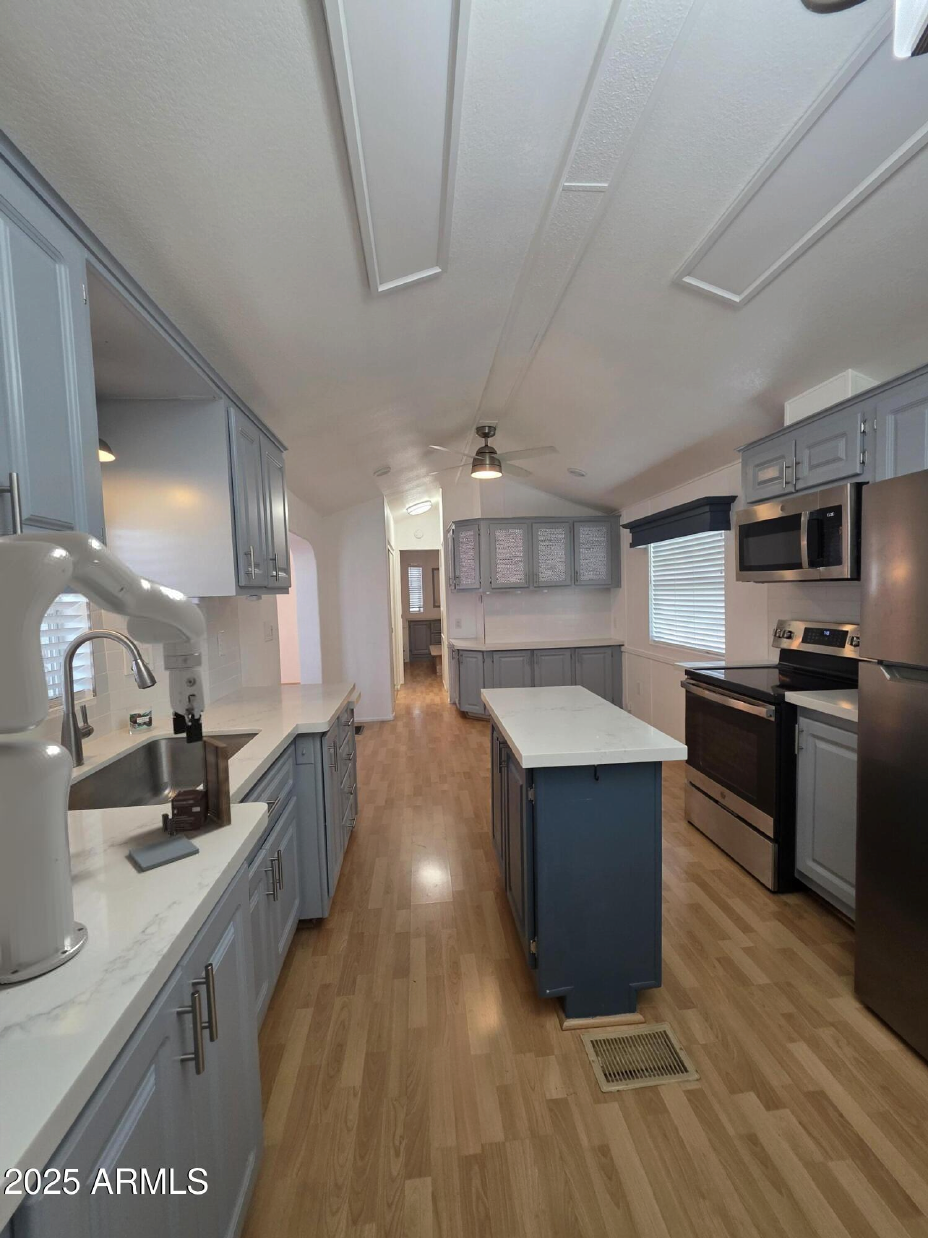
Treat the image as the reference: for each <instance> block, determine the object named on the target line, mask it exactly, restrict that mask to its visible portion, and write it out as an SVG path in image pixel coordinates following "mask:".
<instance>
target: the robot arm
mask: <svg viewBox="0 0 928 1238" xmlns="http://www.w3.org/2000/svg"><path fill="white" fill-rule="evenodd" d="M68 586H69V587H70V588H72V589H73V590H75V591H76V592H77V593H78V594H80V595H82V596H83V597H84V598H85V599H87V600H88V601H90V602H91V603H93V604H94V605H95V606H96V607H98V608H99V609H101V610H103V611H105V612H106V613H110V614H115V615H118V616H123V617H128V619H127V622H126V630H127V634H128V635H129V637H130V638H131V639H133V641H135V642H138V643H140V644H145V645H147V644H148V645H153V644H154V645H155V644H157V645H160V644H161V645H162V654H163V668H164V671H166V672H168V690H169V691H168V693H169V695H168V696H169V704H170V708H171V710H172V713H171V715H172V728H173V729H172V731H173V734H174V735H176V736H177V735H182V734H185V739H186V743H187V744H194V743H197V742H201V741H202V740H203V737H204V736H203V719H202V713H203V712H205V711H206V702H205V692H204V685H203V683H204V682H203V677H202V673H201V668H202V667H203V658H202V645H201V642H202V641H201V638H202V637H203V635H204V633H205V631H206V630H205V629H206V621H205V617H204V614H203V613H202V611H201V609H200V608H199V607H198V606H197V604H196V603H194V602H193V600H192V599H190V598H189V597H188V596H187V595H186V594H184V593H183V592H181V591H179V590H177V589H174V588H172V587H170V586H169V585H168V586H167V585H165V584H163V583H161V582H158V581H155V580H153V579H150V578H147V577H144V576H142V575H139V574H137V573H135V572H134V571H133V570H132V569H131V568H130V567H129V566H127V565H126V564H125V563H124V562H123V560H121V559H120V558H118V557H117V555H115V553H113V551H111V550H110V549H109V548H108V547H107V546H106V545H105V544H103V542H101V541H100V540H99V539H98V538H96V537H95V536H93V535H91V534H89V533H87V532H83V531H75V530H74V531H73V530H71V531H70V530H69V531H67V530H64V531H61V530H60V531H31V532H21V533H15V534H10V535H9V534H8V535H4V536H3V535H2V536H0V735H10V734H20V733H25V732H28V731H31V730H34V729H36V728H38V727H40V726H41V725H42V724H43V723H44V722H45V720H46V719H47V718H48V714H49V711H50V697H49V687H48V683H47V681H48V680H47V676H46V671H45V670H46V669H45V663H44V658H43V650H42V641H41V630H42V629H41V628H42V624H43V621H44V618H45V615H46V614H47V612H48V611H49V609H50V607H51V606H52V604H54V602H55V600H56V599H58V597H59V596H60V595H61V594H62V593H63V592H64V591H65V589H66V588H67V587H68ZM73 761H74V760H73V758H72V755H71V753H70V752H69V750H68V749H67V748H66V747H65V746H64V745H62V744H60V743H58V742H56V741H53V740H49V739H42V738H5V739H4V738H3V739H0V983H1V984H0V985H2V984H4V983H6V984H10V983H17V982H21V981H25V980H29V979H30V978H31V979H32V978H35V977H37V976H40V975H42V974H45V973H47V972H49V971H52V970H53V969H55V968H57V967H59V966H61V965H62V964H64V963H66V962H67V961H69V960H70V959H72V958H73V957H75V956H76V954H78V953H79V952H80V951H81V950H82V949H83V948H84V946H85V945H86V943H87V941H88V938H89V937H88V936H89V935H88V927H87V925H85V924H83V923H82V922H79V921H75V915H74V914H75V912H74V896H73V884H72V883H73V882H72V881H73V880H72V868H71V864H72V863H71V852H70V850H71V849H70V838H69V837H70V836H69V818H68V817H69V815H68V813H69V811H68V810H69V797H70V790H71V786H72V785H71V784H72V778H73V773H74V772H73V771H74V762H73Z"/></svg>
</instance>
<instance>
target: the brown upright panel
mask: <svg viewBox="0 0 928 1238" xmlns="http://www.w3.org/2000/svg"><path fill="white" fill-rule="evenodd" d="M228 746H229V745H227V744H225V743H223V742H221V741H219V740H216V739H214V738H211V737H209V736H203V740H202V741H200V755H201V757H200V760H201V775H202V789H207V809H208V814H209V815H210V816H209V815H208V816H209V817H211V818H212V819H213V818H214V821H216V822H218V823H219V824H220V825H222V826H223V827H226V826H229V825H232V812H231V809H232V808H231V807H232V806H231V790H230V789H231V788H230V786H231V785H230V769H229V768H230V767H229V765H230V764H229V749H228V748H229V747H228ZM161 823H162V824H161V825H162V826H161V827H162V831H163V832H164V833H166V832H167V835H168V837H169V838H171V837H174V836H176V832H175V824H174V819H173V818H172V817H171V818H170V815H169V813H167V812H166V813H163V814H161Z"/></svg>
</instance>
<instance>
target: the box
mask: <svg viewBox="0 0 928 1238" xmlns="http://www.w3.org/2000/svg"><path fill="white" fill-rule="evenodd" d="M170 804H171V805H170V806H171V807H170V808H171V818H173V819H174V824H175V833H177V832H188V831H196V830H197V829H199V830H202V829H203V827H204V826H205V823H206V822H207V821H208V816H209V815H208V809H207V789H203V788H198V789H197V788H194V789H193V788H192V789H183V790H178V792H177V793H176V794H175V795H174V796H173V798H172V799H170ZM206 820H207V821H206ZM202 826H203V827H202Z"/></svg>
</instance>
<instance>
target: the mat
mask: <svg viewBox="0 0 928 1238" xmlns="http://www.w3.org/2000/svg"><path fill="white" fill-rule="evenodd" d="M199 853H200V848H198V846H196V845H195V844H194V842H192V841H191V840H190V839H188V838H187V837H186V836H185V835H183V834H182V833H181V834H178V835H174V836H171V837H168V838H165V839H162V840H159V841H155V842H153V843H150V844H146V845H142V846H139V847H137V848H133V849H130V850H128V856H129V857H130V858H131V859H132V860H133V862H134V863H135V864H136V865H137V866H138V868H140V870H142V872H147V871H151V870H153V869H155V868H159V867H162V866H164V865H167V864H171V863H173V862H177V861H179V860H181V859H185V858H188V857H191V856H194V855H196V854H199Z"/></svg>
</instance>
